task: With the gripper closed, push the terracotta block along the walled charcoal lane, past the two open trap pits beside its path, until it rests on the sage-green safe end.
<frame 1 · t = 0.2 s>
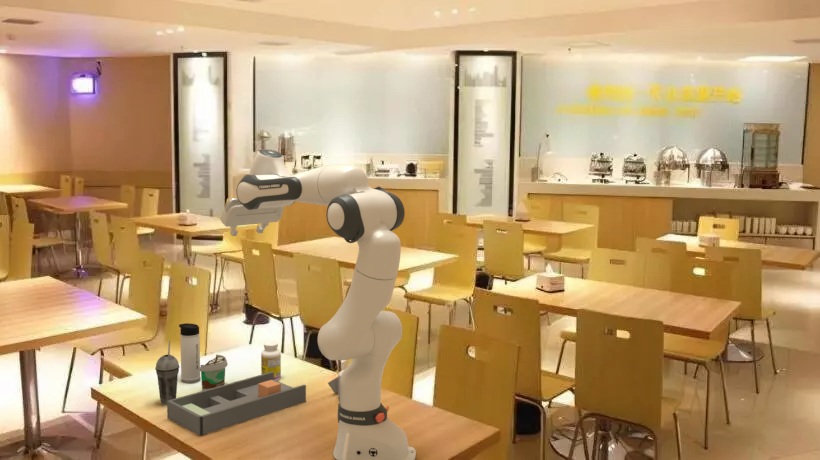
hand: (246, 233, 241), 54 cm above the table, tool tilted 30°, fingers open, 8 cm apart
supplement bottle: (271, 379, 266), on the table
food container: (217, 389, 255), on the table
terracotta block: (269, 395, 242), point 3 cm above the table, touching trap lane
toilet tissue: (349, 398, 250), on the table
beverage cup: (168, 403, 242), on the table
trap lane: (205, 420, 230), on the table
travel mug: (190, 381, 263), on the table
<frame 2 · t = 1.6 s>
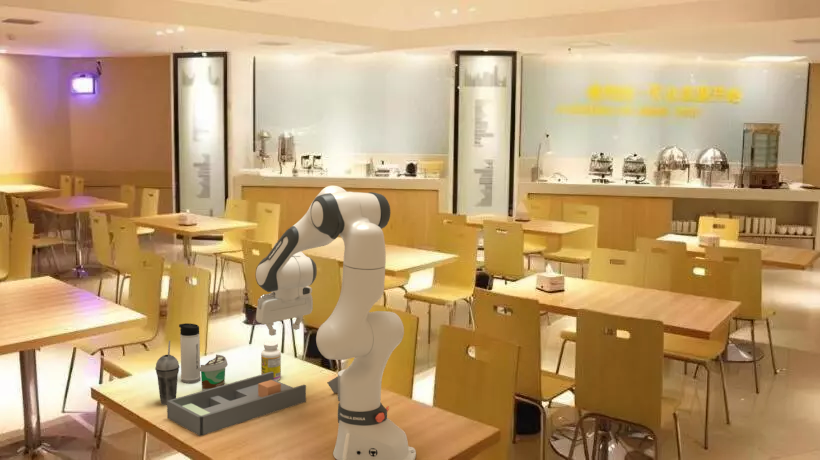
hand: (284, 332, 246), 22 cm above the table, tool pointing down, fingers open, 8 cm apart
nothing on the table moved.
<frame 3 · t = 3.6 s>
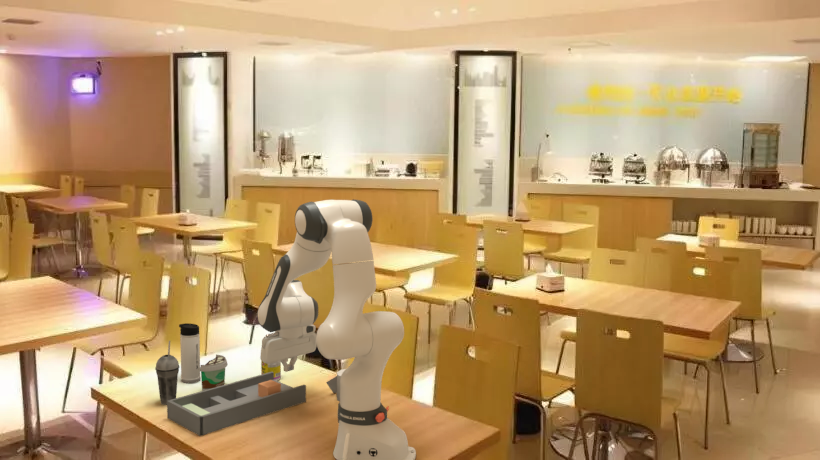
hand: (288, 370, 247), 9 cm above the table, tool pointing down, fingers closed
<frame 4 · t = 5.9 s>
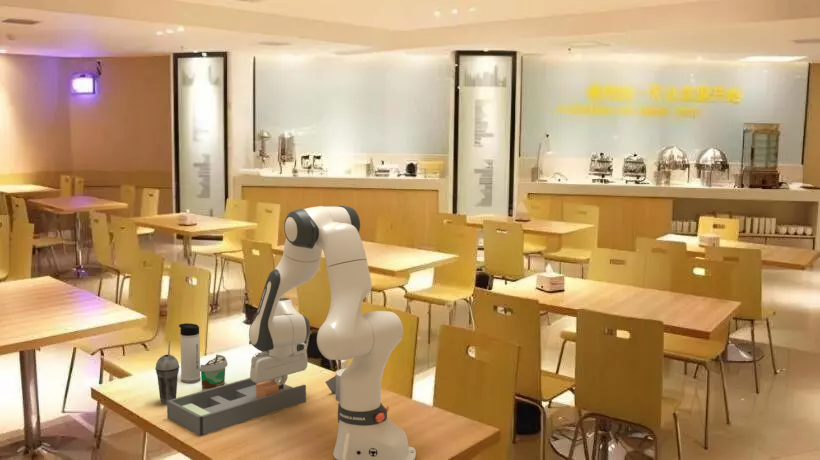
hand: (279, 389, 245), 4 cm above the table, tool pointing down, fingers closed
terracotta block: (267, 396, 242), point 3 cm above the table, touching gripper
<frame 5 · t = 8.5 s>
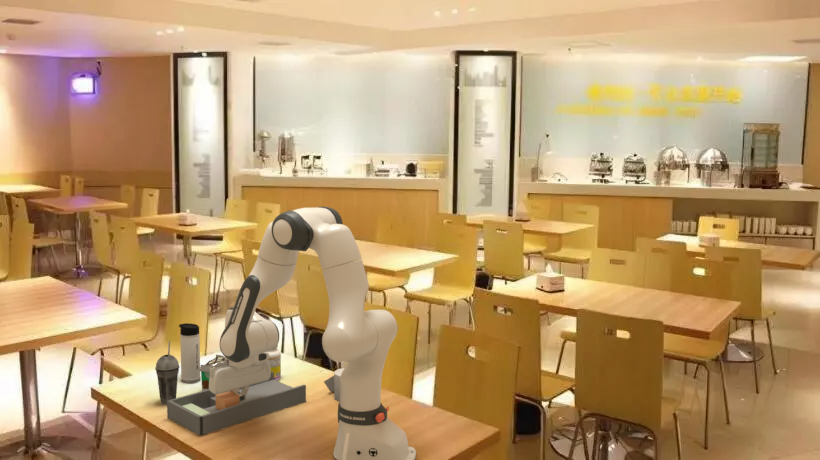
hand: (240, 400, 234), 4 cm above the table, tool pointing down, fingers closed
terracotta block: (227, 408, 231), point 3 cm above the table, touching gripper
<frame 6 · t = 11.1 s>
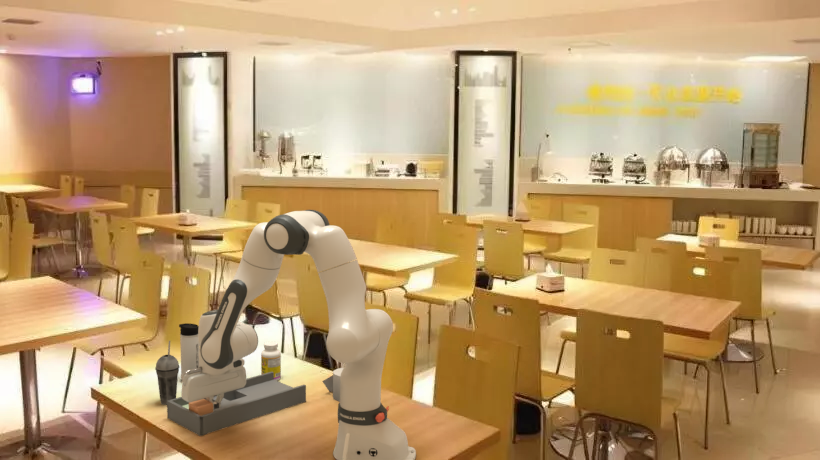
hand: (214, 408, 228), 4 cm above the table, tool pointing down, fingers closed
terracotta block: (201, 416, 225), point 3 cm above the table, touching gripper, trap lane
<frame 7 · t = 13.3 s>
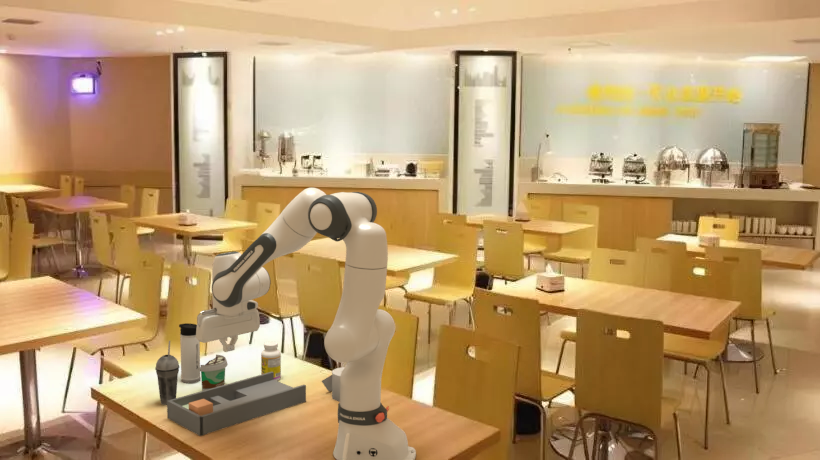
hand: (228, 350, 229), 21 cm above the table, tool pointing down, fingers closed
terracotta block: (201, 416, 225), point 3 cm above the table, touching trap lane
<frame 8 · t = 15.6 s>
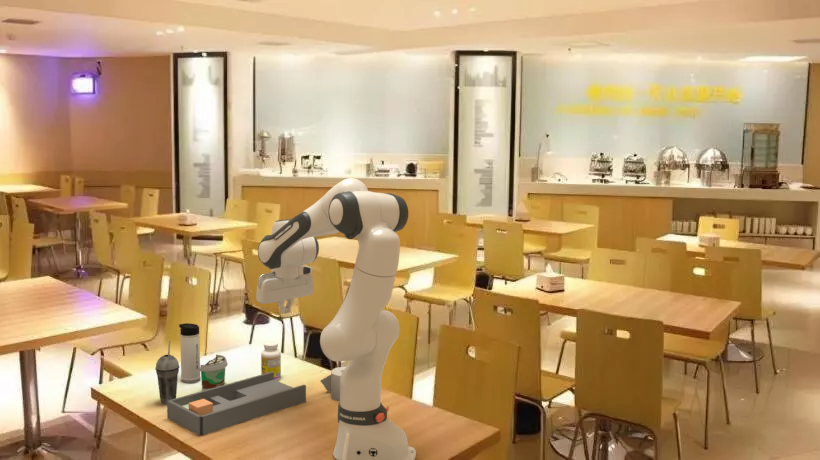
hand: (285, 313, 242), 29 cm above the table, tool pointing down, fingers closed
at the end: terracotta block inside the target area (1.7 cm from its centre), point 3.0 cm above the table; terracotta block tilted 0°; terracotta block moved 24.3 cm from its start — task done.
